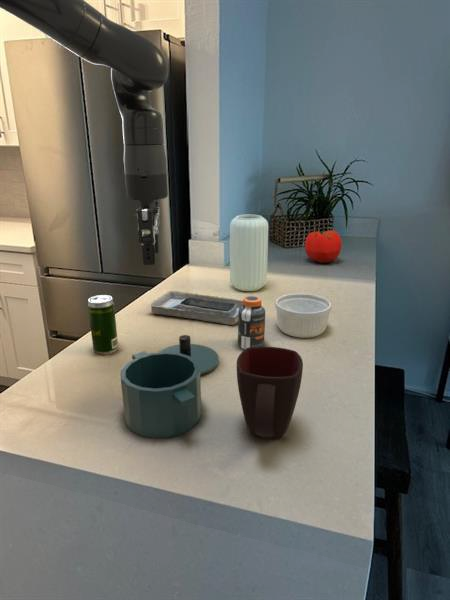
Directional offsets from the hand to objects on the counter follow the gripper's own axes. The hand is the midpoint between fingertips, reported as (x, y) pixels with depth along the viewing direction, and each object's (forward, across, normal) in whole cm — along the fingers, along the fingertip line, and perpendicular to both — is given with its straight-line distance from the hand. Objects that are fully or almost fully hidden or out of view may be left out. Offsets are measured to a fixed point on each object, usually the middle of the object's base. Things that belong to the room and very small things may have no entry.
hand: (151, 258), depth 83 cm
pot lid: (+21, +2, +6) cm, 22 cm away
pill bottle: (+22, -5, +20) cm, 31 cm away
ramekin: (+22, -13, +34) cm, 42 cm away
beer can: (+22, -6, -12) cm, 26 cm away
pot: (+22, +20, +2) cm, 30 cm away
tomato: (+22, -74, +57) cm, 96 cm away
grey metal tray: (+22, -26, +10) cm, 35 cm away
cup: (+22, +27, +19) cm, 39 cm away
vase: (+22, -45, +25) cm, 56 cm away
